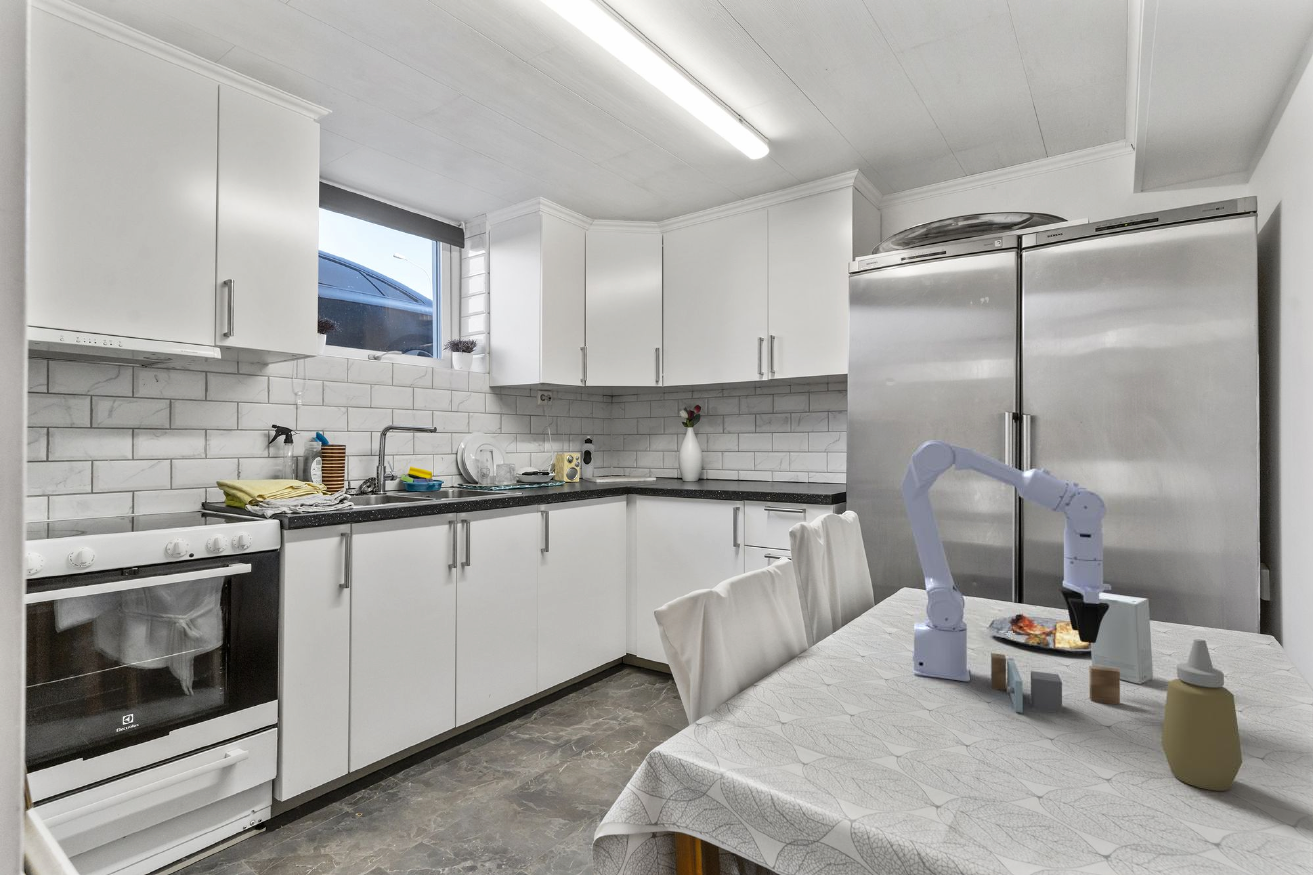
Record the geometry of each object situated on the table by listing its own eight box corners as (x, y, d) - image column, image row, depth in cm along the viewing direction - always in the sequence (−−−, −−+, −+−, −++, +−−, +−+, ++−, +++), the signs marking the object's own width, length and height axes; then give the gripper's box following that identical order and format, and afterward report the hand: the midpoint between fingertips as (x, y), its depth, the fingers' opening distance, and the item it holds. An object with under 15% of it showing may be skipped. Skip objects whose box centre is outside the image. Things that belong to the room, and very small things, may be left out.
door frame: (992, 688, 116) (991, 657, 116) (991, 683, 118) (991, 653, 118) (1120, 705, 108) (1120, 672, 108) (1117, 700, 110) (1116, 667, 111)
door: (1000, 685, 117) (1000, 657, 117) (1013, 686, 116) (1013, 658, 116) (1008, 710, 106) (1008, 679, 106) (1022, 712, 105) (1022, 681, 105)
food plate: (999, 618, 162) (999, 604, 162) (1113, 636, 149) (1113, 620, 149) (981, 646, 142) (981, 630, 142) (1111, 669, 128) (1111, 651, 128)
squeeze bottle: (1145, 766, 88) (1144, 632, 88) (1200, 763, 88) (1199, 630, 89) (1200, 798, 80) (1199, 651, 80) (1260, 795, 80) (1259, 649, 81)
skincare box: (1153, 679, 121) (1153, 598, 121) (1139, 685, 117) (1139, 603, 118) (1102, 666, 128) (1102, 590, 128) (1088, 672, 124) (1087, 594, 125)
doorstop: (1033, 709, 107) (1033, 678, 107) (1030, 700, 111) (1030, 670, 111) (1062, 713, 105) (1062, 682, 105) (1058, 704, 109) (1058, 674, 109)
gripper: (1120, 566, 106) (1121, 650, 106) (1101, 553, 119) (1101, 627, 119) (1070, 563, 109) (1070, 645, 109) (1056, 550, 122) (1056, 623, 122)
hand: (1083, 635), depth 114 cm, fingers open, 7 cm apart
